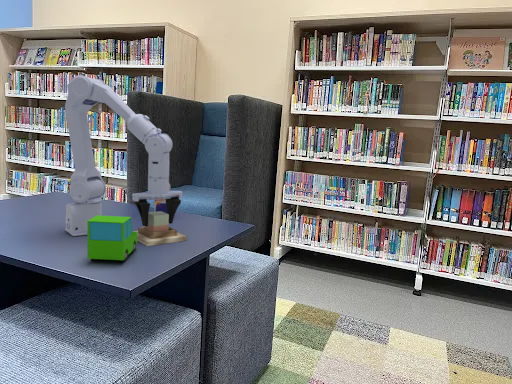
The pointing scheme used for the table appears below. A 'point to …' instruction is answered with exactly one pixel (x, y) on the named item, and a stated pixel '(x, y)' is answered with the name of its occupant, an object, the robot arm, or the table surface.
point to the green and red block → (158, 222)
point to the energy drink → (161, 204)
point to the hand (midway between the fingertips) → (157, 224)
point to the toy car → (110, 238)
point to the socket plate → (158, 236)
